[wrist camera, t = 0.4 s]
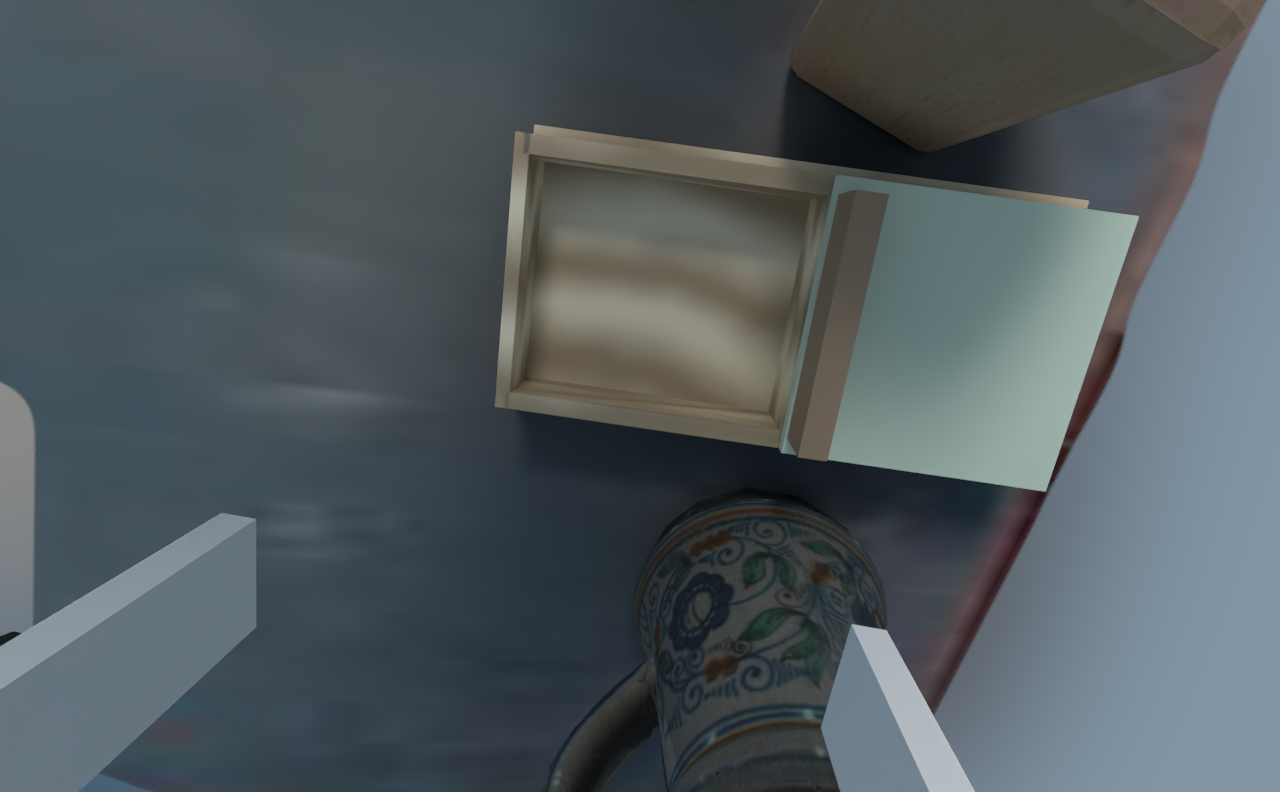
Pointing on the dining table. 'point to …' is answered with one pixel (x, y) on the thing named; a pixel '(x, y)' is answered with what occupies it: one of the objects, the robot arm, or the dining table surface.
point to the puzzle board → (664, 280)
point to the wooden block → (999, 57)
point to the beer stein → (733, 651)
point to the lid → (950, 330)
